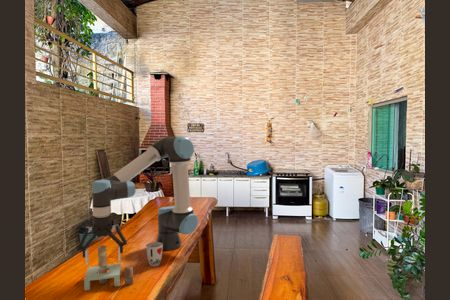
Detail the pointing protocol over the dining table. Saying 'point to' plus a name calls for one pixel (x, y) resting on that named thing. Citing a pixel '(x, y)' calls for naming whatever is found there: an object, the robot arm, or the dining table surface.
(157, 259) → the cup
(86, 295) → the dining table surface
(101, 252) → the long pin
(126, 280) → the short pin
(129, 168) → the robot arm
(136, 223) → the dining table surface
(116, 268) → the bridge
